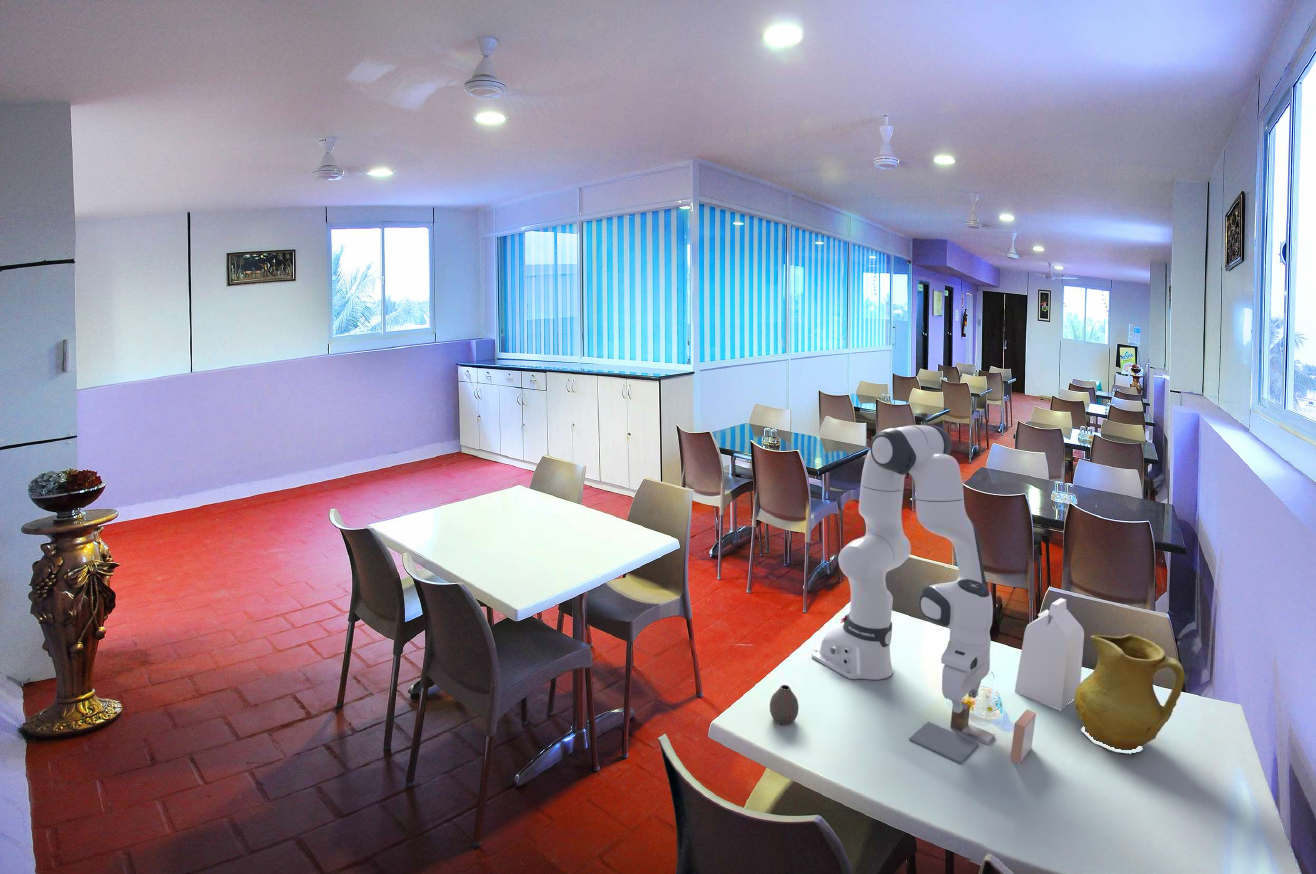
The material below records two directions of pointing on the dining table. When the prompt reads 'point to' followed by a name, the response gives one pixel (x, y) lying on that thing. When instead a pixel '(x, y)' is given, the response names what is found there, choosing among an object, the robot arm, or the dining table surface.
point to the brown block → (969, 725)
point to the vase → (784, 705)
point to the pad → (944, 742)
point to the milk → (1051, 657)
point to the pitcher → (1126, 692)
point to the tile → (1023, 736)
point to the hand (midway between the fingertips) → (965, 703)
